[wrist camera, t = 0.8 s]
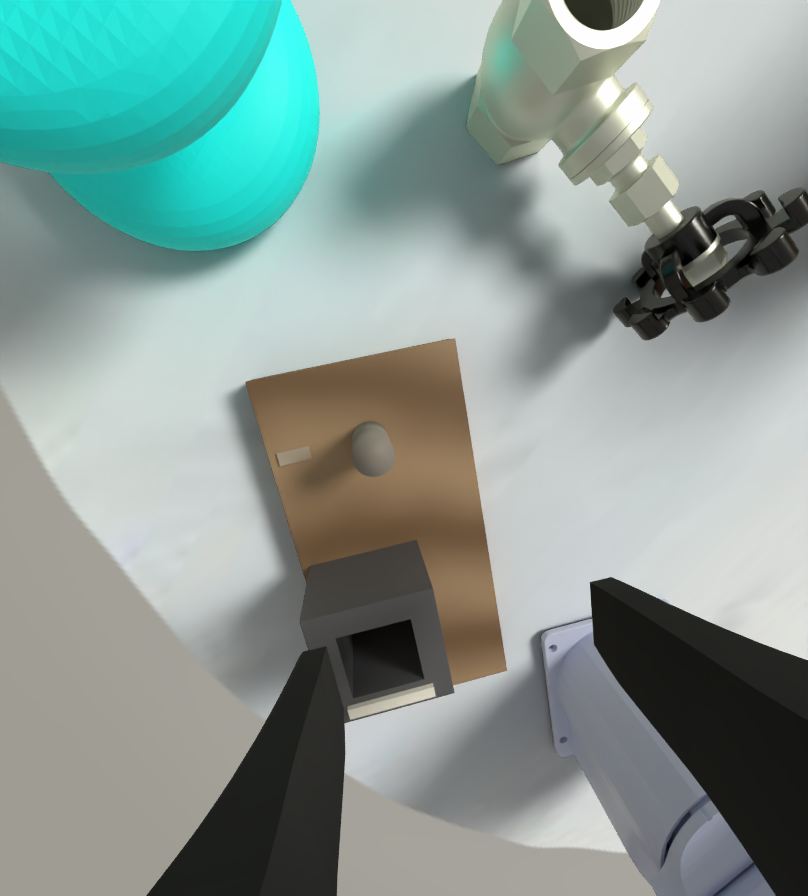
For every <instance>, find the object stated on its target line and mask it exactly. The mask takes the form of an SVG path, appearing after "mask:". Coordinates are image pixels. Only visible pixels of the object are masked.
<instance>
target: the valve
mask: <svg viewBox="0 0 808 896" xmlns="http://www.w3.org/2000/svg"><path fill="white" fill-rule="evenodd" d="M659 2H660V0H503V1H502V3H501V5H500V6H499V8H498V10H497V12H496V14H495V16H494V18H493V20H492V23H491V25H490V28H489V30H488V33H487V37H486V41H485V45H484V48H483V54H482V62H481V66H480V68H479V70H478V72H477V76H476V80H475V85H474V90H473V95H472V99H471V104H470V109H469V114H468V118H467V123H466V129H467V130H468V132H469V133H470V134H471V135H472V136H473V138H474V139H475V140H476V141H477V142H478V143H479V145H480V146H481V147H482V148H483V149H484V151H485V152H486V153H487V154H488V155H489V157H490V158H491V159H492V160H493V161H494V162H495V163H496V164H497V165H500V164H503V163H506V162H509V161H512V160H515V159H519V158H522V157H525V156H528V155H531V154H534V153H537V152H539V151H540V150H541V149H542V148H543V147H544V146H545V145H546V144H547V143H548V142H549V141H550V140H553V142H554V143H555V144H556V145H557V146H558V148H559V149H560V150H561V152H562V153H563V158H562V159H561V161H560V162H559V167H560V168H561V170H562V171H563V172H564V173H565V175H566V176H567V177H568V179H569V180H570V181H571V182H572V184H573V185H578V184H580V183H582V182H583V181H584V180H586V179H587V178H588V177H590V178H591V179H592V180H593V181H594V183H595V184H596V185H597V186H599V185H603V184H605V183H606V182H610V183H611V184H612V185H613V186H614V188H615V189H616V190H615V192H614V194H613V195H612V197H611V199H610V201H609V202H610V203H611V205H612V206H613V207H614V209H615V210H616V211H617V212H618V214H619V215H620V216H621V218H622V219H623V220H624V222H625V223H626V224H627V225H628V227H629V226H635V225H638V224H640V223H642V222H644V223H645V224H646V225H647V227H648V228H649V229H650V230H651V232H652V233H653V234H652V235H651V236H650V238H649V239H648V240H647V242H646V244H645V248H644V249H645V251H644V252H643V254H642V257H641V262H642V265H643V268H641V269H640V270H639V271H638V272H637V273H636V274H635V275H634V276H633V278H632V282H633V284H634V285H635V286H636V287H637V288H638V290H639V291H640V292H641V296H640V299H639V300H638V301H636V302H634V303H631V302H630V301H629V300H628V299H627V297H625V298H623V299H622V300H621V301H620V302H619V303H617V305H616V306H615V307H614V309H613V313H614V314H615V315H616V316H617V318H618V319H619V320H620V321H621V322H622V324H623V325H624V326H625V327H632V328H633V329H634V330H635V332H636V333H637V334H638V335H639V336H640V337H641V339H643V340H651V339H653V338H656V337H657V336H659V335H660V334H662V333H663V332H664V331H665V330H666V329H667V328H668V326H669V324H670V320H672V319H673V318H674V317H676V316H678V315H680V314H683V313H685V312H689V314H690V315H691V316H692V318H693V319H694V320H695V321H696V322H706V321H709V320H711V319H713V318H715V317H717V316H719V315H720V314H721V313H723V312H724V311H725V310H726V309H727V308H728V306H729V304H730V298H729V297H728V296H727V294H726V292H727V291H728V290H729V289H730V288H732V287H733V286H734V285H736V284H737V283H738V282H740V281H741V280H742V279H744V278H746V277H748V276H750V275H752V274H755V273H756V274H757V275H759V276H766V275H770V274H773V273H775V272H777V271H779V270H781V269H783V268H784V267H786V266H788V265H789V264H790V263H791V262H792V261H794V259H795V258H796V257H797V256H798V253H799V250H798V248H797V246H796V245H795V243H794V242H793V240H792V239H791V237H790V235H789V234H790V233H793V232H795V231H797V230H799V229H800V228H802V227H803V226H805V225H806V224H808V194H807V192H806V190H805V189H804V188H796V189H793V190H791V191H789V192H787V193H785V194H783V195H781V196H780V197H779V198H778V200H779V202H780V203H781V205H782V206H783V209H781V210H780V211H779V212H777V213H776V214H775V212H776V209H775V208H774V206H773V204H772V203H771V201H770V200H769V198H768V197H767V195H766V193H765V192H764V191H763V190H759V191H756V192H753V193H751V194H749V195H748V196H746V197H745V198H743V199H740V198H730V199H725V200H722V201H719V202H717V203H715V204H713V205H711V206H710V207H708V208H707V209H706V210H704V211H703V212H702V211H701V209H700V208H699V207H697V206H694V207H690V208H687V209H685V210H683V211H681V212H680V211H679V210H678V209H677V207H676V206H675V205H674V203H673V202H672V200H671V198H672V197H673V196H674V195H675V193H676V192H677V190H678V187H679V181H678V180H677V178H676V177H675V176H674V174H673V173H672V171H671V170H670V168H669V167H668V166H667V164H666V163H665V161H664V160H663V159H662V157H661V156H660V154H659V155H657V156H655V157H654V158H652V159H651V160H649V161H647V160H646V159H645V158H644V156H643V155H642V153H641V150H642V148H643V147H644V145H645V143H646V140H647V136H646V134H645V133H644V132H643V130H642V129H641V127H640V126H641V125H642V124H643V123H644V122H645V120H646V119H647V118H648V116H649V115H650V114H651V112H652V110H653V105H652V103H651V102H650V101H649V99H648V98H647V96H646V95H645V93H644V92H643V90H642V89H641V87H640V86H639V84H638V83H637V82H635V83H633V84H632V85H631V86H629V87H628V88H627V89H625V88H623V86H622V85H621V83H620V82H619V80H618V79H617V78H616V76H615V75H614V73H615V72H616V71H617V70H618V69H619V68H620V67H621V66H622V65H623V64H624V63H625V62H626V61H627V60H628V59H629V58H630V56H631V55H632V54H633V53H634V52H635V51H636V50H637V49H638V48H639V47H640V46H641V45H642V44H643V43H644V42H645V41H646V39H647V36H648V34H649V31H650V29H651V26H652V23H653V20H654V17H655V15H656V11H657V8H658V5H659ZM729 215H734V216H735V217H736V220H734V221H731V222H729V223H727V224H724V225H722V226H720V227H718V228H716V229H714V228H713V225H714V224H716V223H717V222H718V221H720V220H721V219H722V218H724V217H726V216H729ZM744 239H747V241H746V243H745V244H744V246H743V247H742V248H741V250H740V251H739V252H738V253H737V254H736V255H735V256H734V257H733V258H732V259H731V260H730V261H729V262H728V263H727V264H726V265H725V263H726V259H727V252H726V251H725V249H724V248H723V247H722V246H725V245H727V244H729V243H732V242H735V241H739V240H744ZM724 265H725V266H724ZM666 288H667V290H668V292H669V293H670V294H671V296H670V297H665V298H661V296H662V294H663V292H664V291H665V289H666Z"/></svg>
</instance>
